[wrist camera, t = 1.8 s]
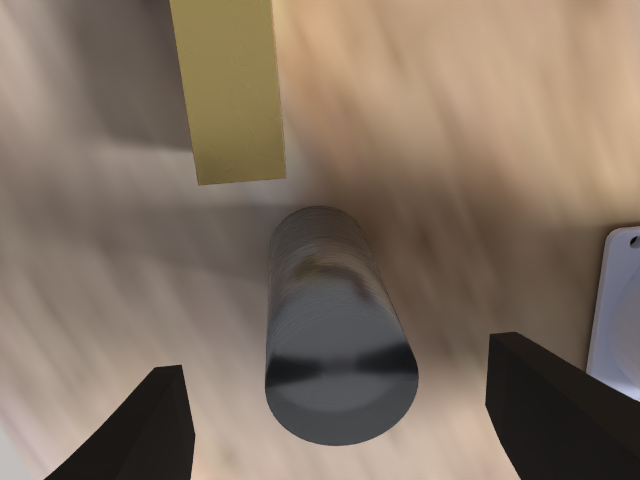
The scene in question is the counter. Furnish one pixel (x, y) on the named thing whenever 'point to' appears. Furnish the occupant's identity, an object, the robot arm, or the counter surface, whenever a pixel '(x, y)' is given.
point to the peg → (333, 334)
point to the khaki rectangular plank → (230, 88)
